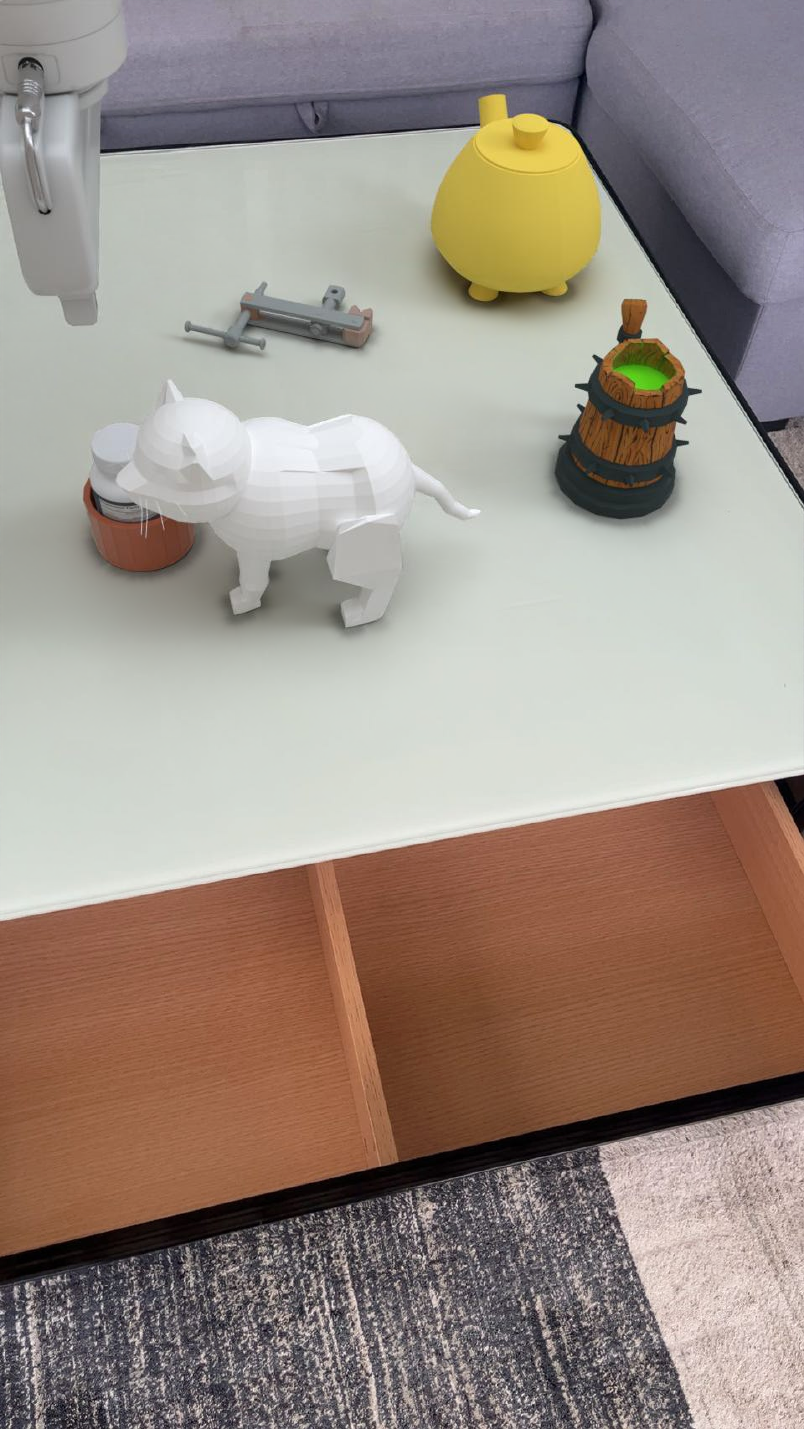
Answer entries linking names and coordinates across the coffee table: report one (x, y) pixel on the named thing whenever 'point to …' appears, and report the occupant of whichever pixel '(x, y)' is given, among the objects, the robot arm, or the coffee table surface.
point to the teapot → (517, 206)
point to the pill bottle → (115, 473)
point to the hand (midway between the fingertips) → (84, 269)
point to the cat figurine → (284, 492)
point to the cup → (138, 539)
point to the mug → (626, 426)
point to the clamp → (352, 322)
